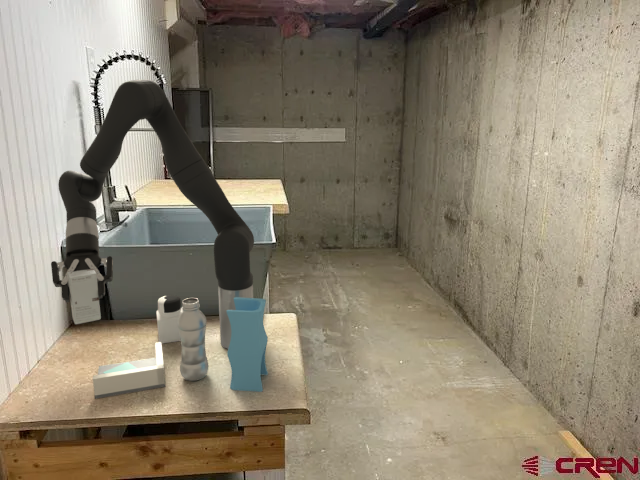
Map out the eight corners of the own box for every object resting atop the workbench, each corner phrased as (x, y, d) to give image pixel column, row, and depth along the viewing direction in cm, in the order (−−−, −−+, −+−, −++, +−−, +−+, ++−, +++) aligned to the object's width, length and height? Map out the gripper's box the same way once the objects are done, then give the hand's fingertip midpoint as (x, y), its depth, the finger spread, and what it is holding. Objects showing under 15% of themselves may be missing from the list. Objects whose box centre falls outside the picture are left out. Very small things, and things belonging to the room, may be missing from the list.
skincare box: (75, 325, 114) (68, 278, 111) (72, 318, 118) (65, 272, 114) (102, 319, 117) (96, 273, 114) (99, 312, 121) (93, 267, 117)
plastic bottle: (178, 372, 117) (173, 297, 112) (206, 367, 120) (202, 293, 114) (182, 386, 111) (177, 308, 106) (211, 380, 114) (207, 304, 108)
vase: (236, 371, 118) (234, 297, 113) (267, 373, 118) (267, 298, 112) (228, 389, 111) (225, 311, 105) (262, 391, 110) (261, 312, 105)
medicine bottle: (183, 329, 139) (181, 291, 136) (186, 340, 133) (183, 300, 130) (158, 332, 137) (154, 294, 134) (159, 344, 130) (155, 304, 127)
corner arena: (162, 359, 123) (161, 341, 122) (165, 386, 111) (163, 367, 110) (99, 368, 118) (97, 350, 117) (95, 398, 106) (92, 379, 105)
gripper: (47, 234, 116) (46, 297, 109) (111, 229, 121) (114, 289, 114) (53, 248, 122) (53, 309, 115) (114, 243, 127) (117, 301, 120)
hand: (84, 299), depth 114 cm, fingers closed on skincare box, 6 cm apart
